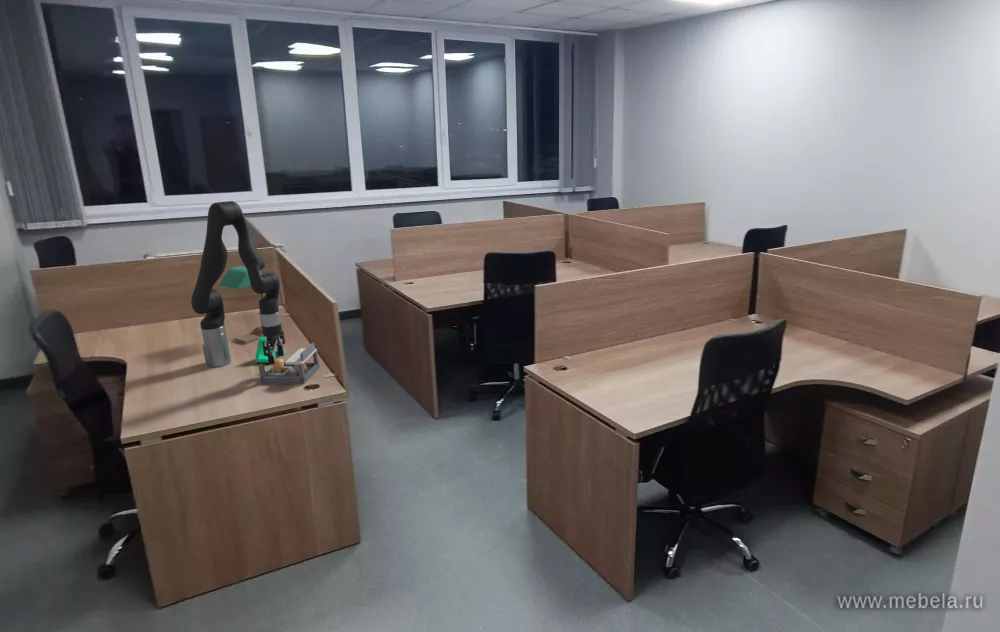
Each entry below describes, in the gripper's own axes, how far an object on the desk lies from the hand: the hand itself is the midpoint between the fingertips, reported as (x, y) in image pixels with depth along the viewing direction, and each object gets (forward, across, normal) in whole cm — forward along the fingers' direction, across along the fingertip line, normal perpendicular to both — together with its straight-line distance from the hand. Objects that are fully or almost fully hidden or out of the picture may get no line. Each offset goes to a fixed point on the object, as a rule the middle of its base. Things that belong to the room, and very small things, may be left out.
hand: (276, 359), depth 240 cm
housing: (+7, 0, +6) cm, 9 cm away
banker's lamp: (+8, -45, -32) cm, 56 cm away
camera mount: (+8, -17, -11) cm, 22 cm away
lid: (-1, 0, +11) cm, 11 cm away
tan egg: (+6, 0, 0) cm, 6 cm away
